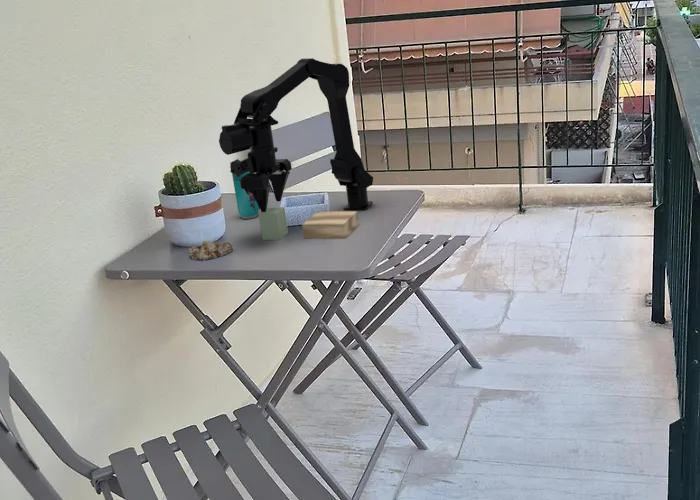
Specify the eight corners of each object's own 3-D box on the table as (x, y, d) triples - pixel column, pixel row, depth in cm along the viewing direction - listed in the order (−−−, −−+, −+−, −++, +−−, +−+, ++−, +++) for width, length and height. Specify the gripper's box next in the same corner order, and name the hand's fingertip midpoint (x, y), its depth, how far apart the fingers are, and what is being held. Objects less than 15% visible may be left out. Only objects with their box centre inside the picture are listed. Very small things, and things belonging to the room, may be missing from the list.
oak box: (319, 225, 199) (317, 211, 197) (359, 225, 195) (357, 211, 194) (304, 239, 189) (302, 224, 188) (345, 239, 185) (343, 224, 184)
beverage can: (249, 220, 209) (241, 168, 204) (235, 218, 213) (226, 166, 208) (263, 214, 214) (255, 162, 209) (249, 212, 217) (241, 161, 212)
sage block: (270, 233, 196) (266, 207, 194) (288, 233, 194) (284, 207, 192) (262, 239, 192) (258, 213, 189) (280, 239, 190) (276, 213, 188)
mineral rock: (187, 255, 179) (187, 237, 186) (190, 270, 182) (189, 252, 188) (233, 250, 181) (231, 232, 187) (235, 264, 183) (233, 246, 190)
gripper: (248, 139, 196) (258, 196, 201) (215, 156, 180) (226, 218, 185) (288, 137, 193) (296, 195, 198) (257, 154, 176) (267, 217, 181)
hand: (271, 206), depth 190 cm, fingers open, 9 cm apart
